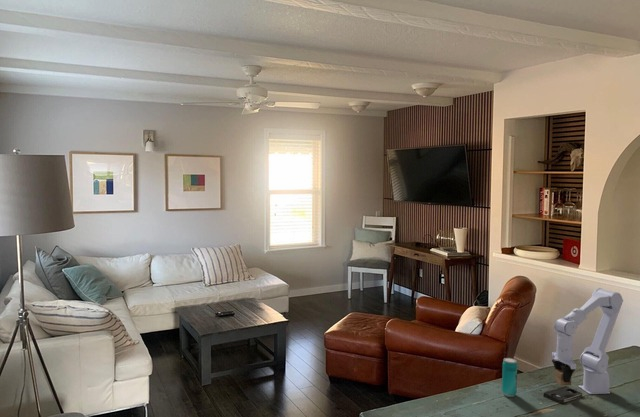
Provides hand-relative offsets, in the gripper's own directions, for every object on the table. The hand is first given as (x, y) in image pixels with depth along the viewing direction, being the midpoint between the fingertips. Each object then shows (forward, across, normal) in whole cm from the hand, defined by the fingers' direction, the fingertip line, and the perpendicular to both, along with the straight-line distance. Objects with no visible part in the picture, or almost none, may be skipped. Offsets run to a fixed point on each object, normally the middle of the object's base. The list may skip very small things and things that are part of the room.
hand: (563, 379), depth 209 cm
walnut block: (+2, 0, 0) cm, 2 cm away
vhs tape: (+8, 0, 0) cm, 8 cm away
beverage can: (+7, -3, -22) cm, 23 cm away
